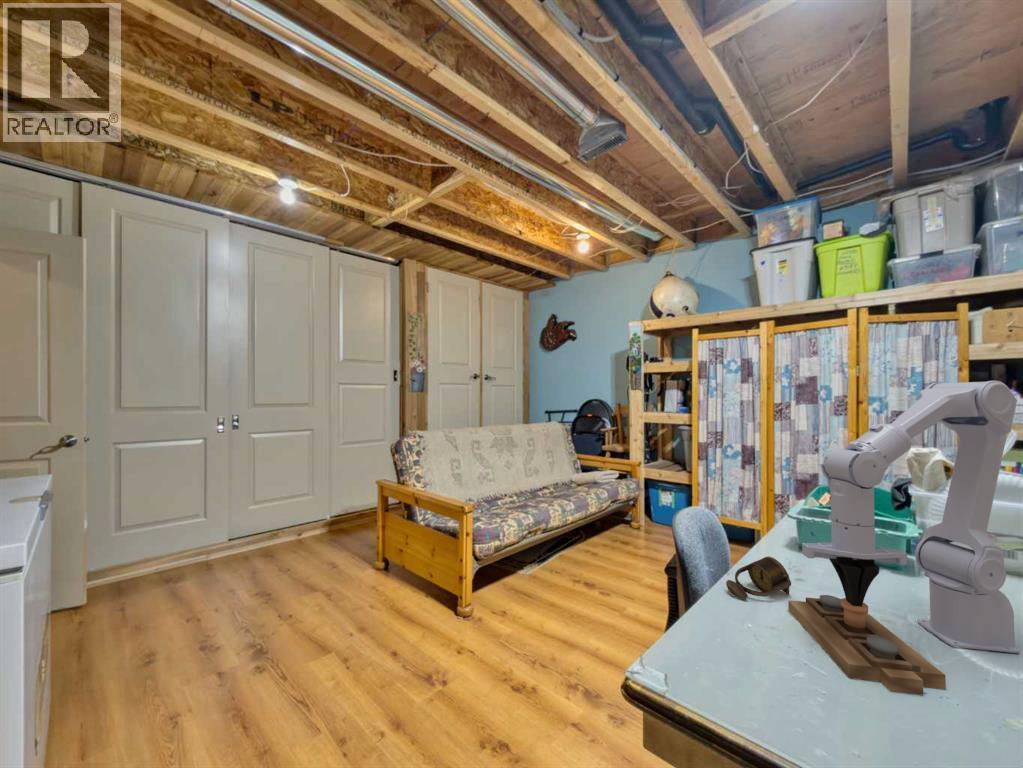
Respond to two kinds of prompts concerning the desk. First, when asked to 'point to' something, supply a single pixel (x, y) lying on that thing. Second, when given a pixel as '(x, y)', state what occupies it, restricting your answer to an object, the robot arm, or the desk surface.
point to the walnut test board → (866, 650)
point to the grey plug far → (831, 603)
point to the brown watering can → (762, 579)
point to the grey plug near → (882, 647)
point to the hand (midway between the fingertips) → (854, 603)
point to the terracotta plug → (854, 614)
